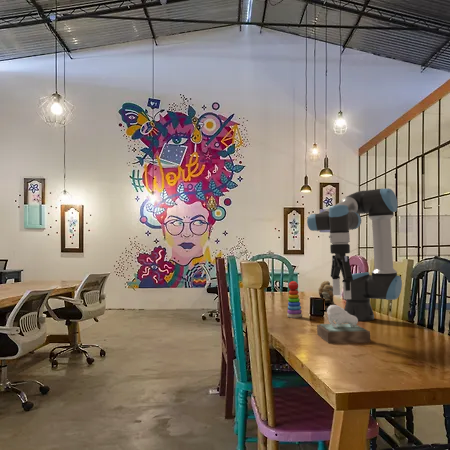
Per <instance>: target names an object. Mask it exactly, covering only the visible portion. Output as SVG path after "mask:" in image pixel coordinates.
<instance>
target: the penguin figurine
mask: <svg viewBox="0 0 450 450" xmlns="http://www.w3.org/2000/svg"><path fill="white" fill-rule="evenodd" d="M344 309H345V308H343V307H342V306H340V305H337V304H336V305H330V306H329V307H328V309H327V311H326V313H327V320H328V322H329V323H328V324H331V325H332V327H334V328H337V326H336V324H338V325H339V324H350V326H351V327H355V325H357V324H358V322H359V321H358V319H357V317H356V316H354V315H350V314H349V313H348V312H347V311H345V310H344Z"/></svg>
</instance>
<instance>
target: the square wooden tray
mask: <svg viewBox="0 0 450 450" xmlns="http://www.w3.org/2000/svg"><path fill="white" fill-rule="evenodd" d="M335 324H336V323H335ZM336 326H337V328H334V327H332V325H331V324H330V323H320V324H317V325H316V334H317V335H318V337H320V338H321V339H323V341H325V343H327V344H343V343H344V344H346V343H348V344H351V343H352V344H353V343H354V344H355V343H371V330H370V331H369V330H368V329H365V328H363V327H362V326H360V325H357V324H356V325H355V327H351V326H350V324H349V323H342V324H339V325H338V324H336Z"/></svg>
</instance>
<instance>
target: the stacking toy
mask: <svg viewBox="0 0 450 450" xmlns="http://www.w3.org/2000/svg"><path fill="white" fill-rule="evenodd" d="M298 288H299V284H298V282H297V281H296V280H295V281H294V280H292V281H290V282H289V283H288V289H289V291H288V298H287V299H288V302H287V314H286V316H287V318H291V319H299V318H302V317H303V314H302V312H303V311H302V306H301V305H302V303H301V302H300V299H301V298H299V297H300V295H299V290H298Z"/></svg>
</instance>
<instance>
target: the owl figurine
mask: <svg viewBox="0 0 450 450" xmlns="http://www.w3.org/2000/svg"><path fill="white" fill-rule="evenodd" d="M318 295H319V298H320V299H321V298H324V299H325V311H324V312H327V309H328V307H329V306H330V305H337V304H336V303H335V301H334V296H335V295H333V285H331V282H330V281H328V280H324V281H322V282H321V284H320V286H319V288H318Z"/></svg>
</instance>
